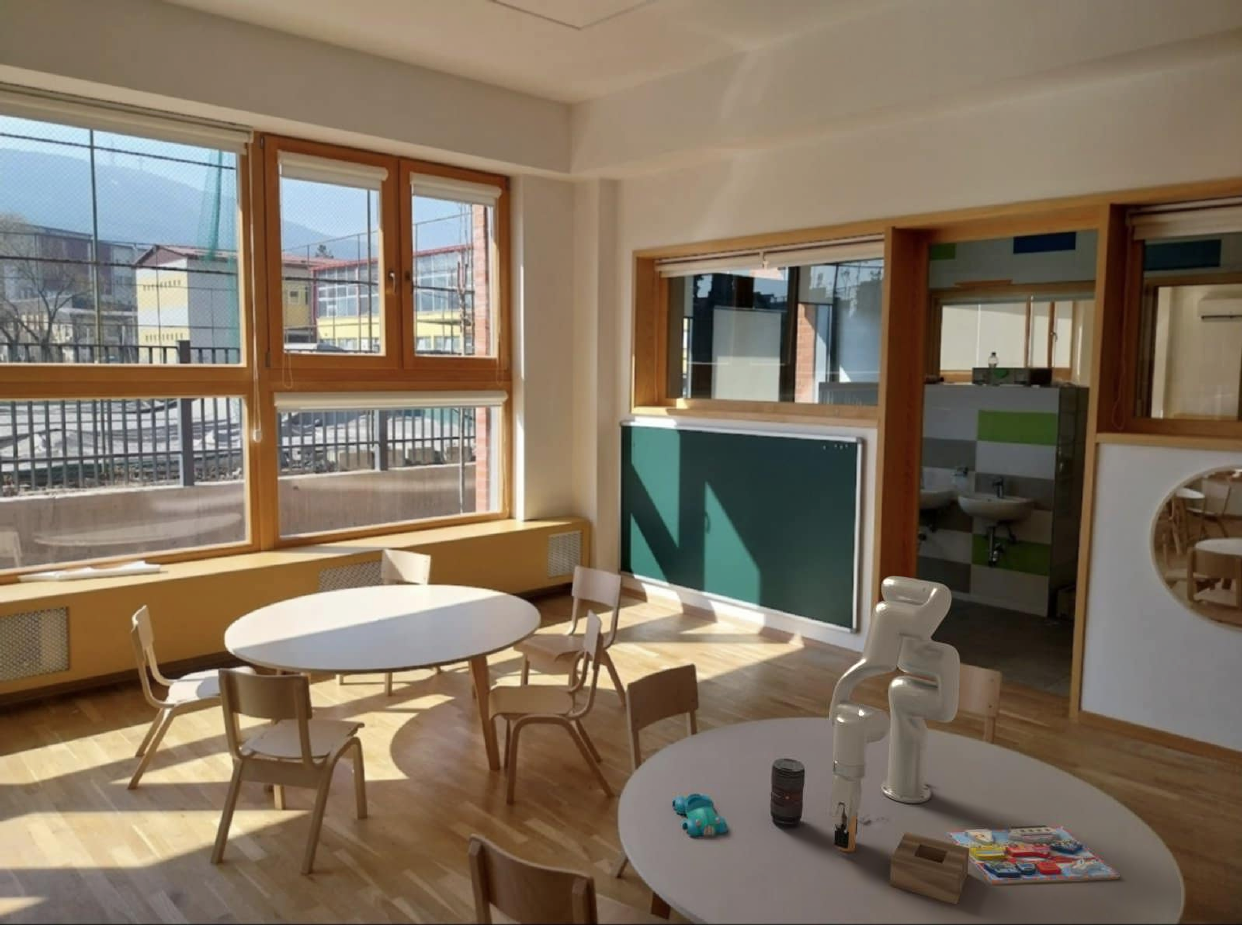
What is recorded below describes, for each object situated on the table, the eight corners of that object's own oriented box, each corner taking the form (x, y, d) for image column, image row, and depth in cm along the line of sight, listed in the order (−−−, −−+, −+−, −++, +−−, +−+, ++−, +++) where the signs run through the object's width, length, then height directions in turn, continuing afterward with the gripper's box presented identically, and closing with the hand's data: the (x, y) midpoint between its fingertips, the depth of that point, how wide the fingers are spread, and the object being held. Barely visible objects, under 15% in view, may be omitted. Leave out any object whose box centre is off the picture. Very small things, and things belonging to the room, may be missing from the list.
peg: (838, 840, 222) (840, 808, 221) (857, 845, 220) (858, 813, 219) (833, 848, 218) (834, 815, 217) (851, 853, 216) (853, 820, 215)
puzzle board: (1062, 830, 230) (1062, 820, 229) (1120, 882, 207) (1121, 870, 207) (944, 834, 227) (944, 824, 226) (990, 887, 204) (991, 876, 204)
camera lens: (802, 831, 225) (805, 773, 224) (768, 828, 227) (771, 769, 225) (802, 816, 233) (805, 759, 232) (770, 812, 235) (772, 755, 233)
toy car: (687, 839, 222) (688, 812, 221) (668, 804, 239) (668, 779, 238) (730, 835, 224) (731, 808, 223) (708, 800, 241) (709, 776, 241)
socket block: (904, 856, 215) (905, 831, 214) (967, 873, 208) (969, 848, 208) (889, 885, 203) (891, 859, 202) (956, 904, 196) (958, 877, 195)
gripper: (843, 750, 226) (840, 820, 228) (822, 777, 211) (818, 852, 213) (874, 757, 222) (870, 828, 224) (854, 785, 207) (851, 861, 209)
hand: (845, 839), depth 219 cm, fingers open, 6 cm apart
